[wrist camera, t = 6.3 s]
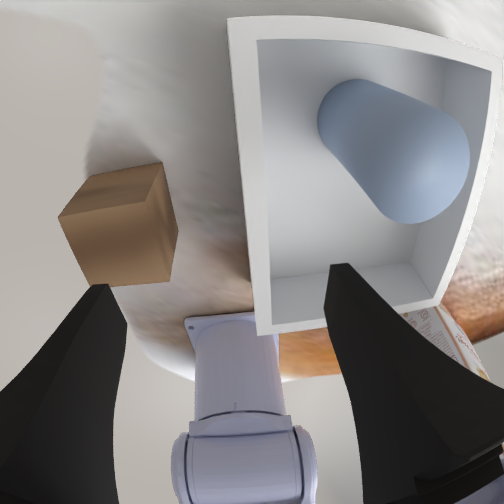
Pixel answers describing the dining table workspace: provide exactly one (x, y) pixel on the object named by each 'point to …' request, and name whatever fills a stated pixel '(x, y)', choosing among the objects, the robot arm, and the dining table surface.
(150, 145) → the dining table surface
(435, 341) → the cracker box
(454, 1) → the dining table surface
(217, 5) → the dining table surface
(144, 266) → the walnut cube
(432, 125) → the blue cylinder
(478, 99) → the tote
